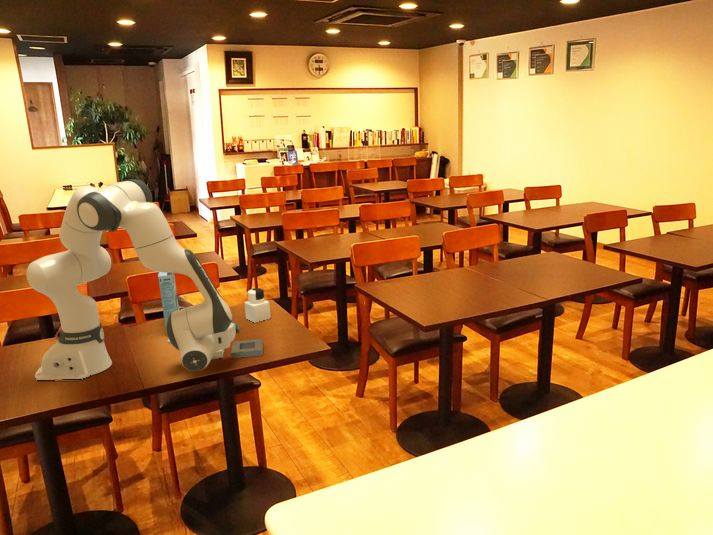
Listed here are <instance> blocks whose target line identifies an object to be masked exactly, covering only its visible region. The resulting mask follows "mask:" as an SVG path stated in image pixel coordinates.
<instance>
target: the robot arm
mask: <svg viewBox="0 0 713 535" xmlns="http://www.w3.org/2000/svg"><path fill="white" fill-rule="evenodd" d="M152 194H153V193H152V192H151V188H149V186H148V185H147V184H146V183H145V182H143V181H142V180H139V179H136V178H135V179H132V178H131V179H124V180H122V181H119V182H115V183H111V184H107V185H106V186H103V187H101V188H98V187H96V186H92V185H83V186H81V187H78V188H76V189H75V190H74V192H73V194H72V195H71V196H70V199H69V201H68V203H67V205H66V208H65V212H64V214H63V219H62V223H61V225H60V229H59V234H58V235H59V236H58V237H59V240H60V242H61V244H62V245H63V246H64V247H65V248H66V249H67V250H65V251H61V252H56V253H53V254H48V255H45V256H42V257H39V258H38V259H36V260H34V261H32V262H30V263H29V264H28V266H27V269H26V280H27V282H28V284H29V286H30V287H31V288H32V289H33V290H35V291H36V292H38V293H40V294H43V295H44V296H46V297H48V298H49V299H50V300H51V301H52V303H53V304H54V306H55V307H56V309H57V313H58V317H59V320H60V324H61V325H60V327H59V328H58V331H56V334H54V338H55V340H57V341H56V342H55V343H54V344H53V345H52V346H51V347H50V348H49V349H48V350H47V351H46V352H45V353H44V354H43V356H42V359H41V366H40V367H39V368H38V370H36V372H35V374H34V379H35V378H36V379H37V380H50V379H82V380H84V379H83V378H85V379H87V378H88V377H90V375H91V376H93V375H96V374H99V373H101V372H104V371H105V370H108V369H109V368H110V367H111V366H112V365H113V361H112V359H111V357H110V355H109V353H108V350H107V347H106V344H105V334H104V329H103V325H102V323H101V320H100V315H99V310H98V304H97V302H96V300H95V299H94V298H93V297H91V296H89V295H88V294H87V295H86V294H81V293H80V292H79V290H78V286H79V285H81V284H85V283H89V282H91V281H95V280H97V279H99V278H101V277H103V276H105V275H107V274H108V273H109V272H110V271H111V268H112V257H111V256H110V254H109V252H108V251H107V249H105V248H104V247H103V246H101V245H100V244H101V239H102V235H103V232H104V231H108V232H117V230H118V229H119V228H121V229H122V230H125V231H126V233H127V234H128V236H129V238H130V241H131V244H132V246H133V248H134V251H135V254H136V256H137V257H138V259H139V261H140V264H142V265H143V266H144V267H145V268H147V269H149V270H151V271H153V272H157V273H159V272H165V273H174V274H181V275H184V276H187V277H189V278H191V280H192V281H193V283H194V284H195V286H196V288H197V289H198V291H199V293H200V295H201V296H202V297H203V299H204V302H201V303H197V304H195V305H192V306H186V307H184V308H181V309H180V308H179V310H177V311H174V312H172V313H171V314H170V316H169V318H168V320H167V324H166V327H165V331H166V330H167V334H166V336H167V335H168V336H167V338H168V339H167V341H166V342H167V344H168V345H169V344H171V345H172V346H173V348H175V349H176V350H178V351H179V353H180V362H181V364H182V366H183V368H184V369H186V370H188V371H190V372H200V371H203V370H204V369H206V368H207V367H208V365H209V364H210V363H211V360H212V359H211V358H212V355H213V352H216V351H218V350H222V349H224V350H225V349H229V348H230V347H231V343H233V341H234V340H235V337H236V335H237V332H236V330H237V329H235V324H236V323H235V322H233V315H232V311H231V309H230V307H229V305H228V304H227V302H226V301H225V299H224V298H223V297H222V296H221V294H220V292H219V291H218V289H217V287H216V285H215V284H214V282H213V280H212V279H211V278H210V276H209V274H208V272H207V271H206V269H205V268H204V266H203V265H202V263H201V261H200V259H199V258H198V257H197V255H196V254H195V253H194V252H193V251H192V250H191V249H187V248H184V247H183V246H182V245H181V244H180V243H179V242H178V240H177V239H176V238H175V235H174V233H173V231H172V229H171V227H170V224H169V222H168V220H167V218H166V217H165V215H164V212H162V210H161V208H160V207H159V206H158V204H156V203H153V195H152ZM231 322H233V323H231ZM86 377H87V378H86ZM36 379H35V380H36ZM37 380H36V381H37Z"/></svg>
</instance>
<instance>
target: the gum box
mask: <svg viewBox="0 0 713 535" xmlns="http://www.w3.org/2000/svg"><path fill="white" fill-rule="evenodd" d="M175 278H176V276H175V273H165V272H158V274H157V279H158V284H159V290H160V298H161V306H162V313H163V319H164V324H165V325H164V326H165V328H166V324H167V320H168V318H169V316H170V314H171V313H172V312H174V311H177V310H180V306H179V300H178V299H179V298H178V292H177V285H176V279H175ZM165 334H166V336H167V337H168V335H167V330H166V329H165Z"/></svg>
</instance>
